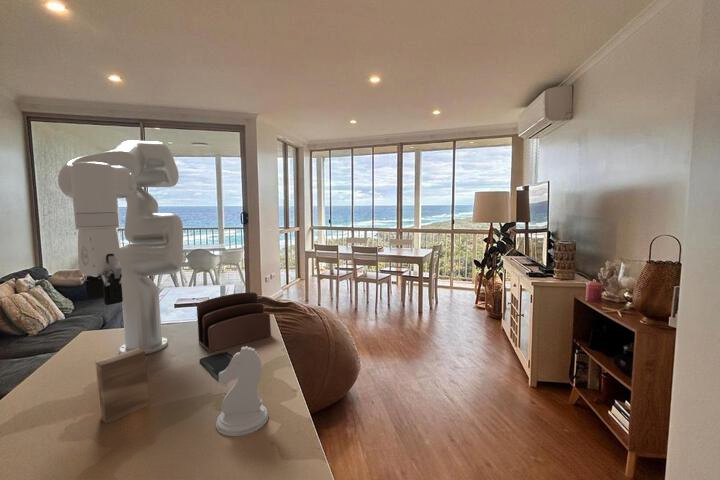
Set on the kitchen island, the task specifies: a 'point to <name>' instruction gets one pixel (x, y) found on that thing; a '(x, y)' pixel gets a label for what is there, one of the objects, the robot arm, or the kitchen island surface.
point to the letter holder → (231, 321)
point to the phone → (216, 363)
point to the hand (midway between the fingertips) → (104, 300)
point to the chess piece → (242, 395)
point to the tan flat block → (122, 384)
